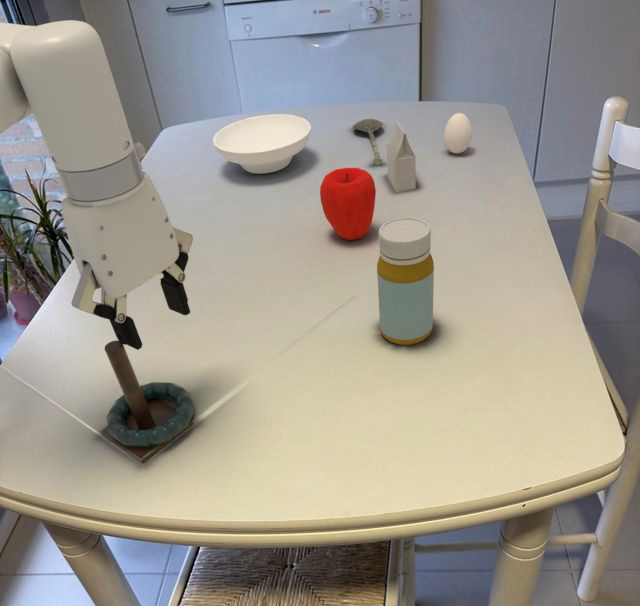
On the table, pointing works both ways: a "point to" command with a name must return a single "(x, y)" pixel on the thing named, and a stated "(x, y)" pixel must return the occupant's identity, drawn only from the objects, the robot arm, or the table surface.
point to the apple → (348, 201)
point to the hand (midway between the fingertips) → (156, 326)
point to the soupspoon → (370, 134)
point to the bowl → (263, 141)
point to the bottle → (405, 280)
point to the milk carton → (400, 161)
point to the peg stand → (137, 403)
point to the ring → (157, 433)
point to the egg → (458, 133)
